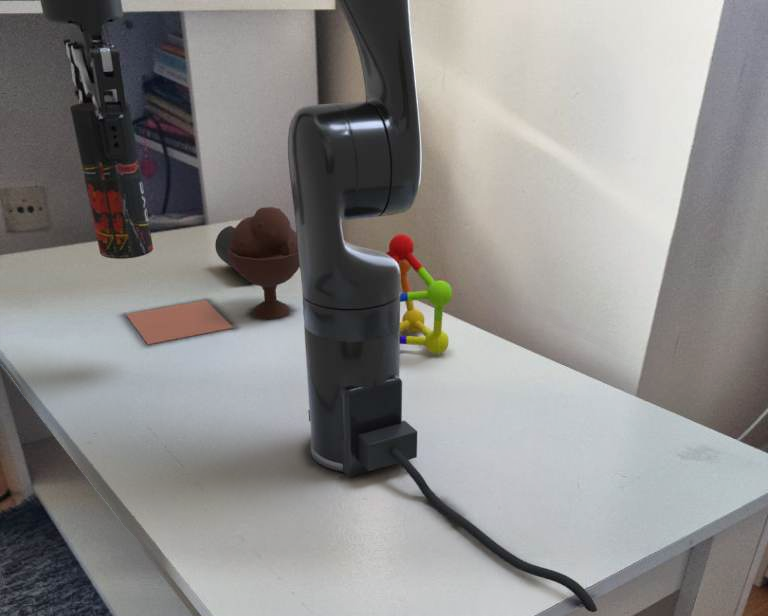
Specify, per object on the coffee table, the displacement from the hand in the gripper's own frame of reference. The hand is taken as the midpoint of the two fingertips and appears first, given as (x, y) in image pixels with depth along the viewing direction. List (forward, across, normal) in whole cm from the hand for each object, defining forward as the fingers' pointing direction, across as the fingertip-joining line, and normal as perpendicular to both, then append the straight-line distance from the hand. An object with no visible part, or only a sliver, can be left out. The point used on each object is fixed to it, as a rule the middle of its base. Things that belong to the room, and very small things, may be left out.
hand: (109, 151), depth 86 cm
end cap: (+26, -28, +24) cm, 45 cm away
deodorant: (+11, 0, 0) cm, 11 cm away
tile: (+26, -14, +8) cm, 31 cm away
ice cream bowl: (+26, -11, +21) cm, 35 cm away
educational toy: (+26, +9, +31) cm, 41 cm away
